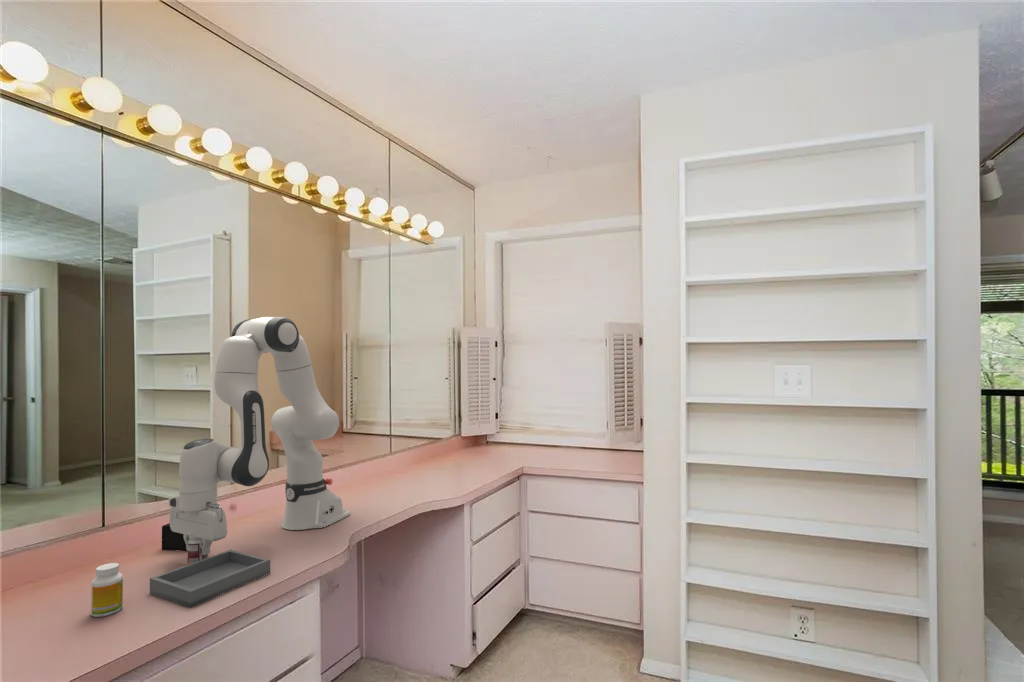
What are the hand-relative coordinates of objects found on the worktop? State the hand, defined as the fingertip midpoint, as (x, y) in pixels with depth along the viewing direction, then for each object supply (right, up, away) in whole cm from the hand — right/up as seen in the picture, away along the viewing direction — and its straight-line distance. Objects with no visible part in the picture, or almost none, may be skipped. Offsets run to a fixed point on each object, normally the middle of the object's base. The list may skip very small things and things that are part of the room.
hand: (198, 552), depth 138 cm
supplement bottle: (-4, -2, -26) cm, 27 cm away
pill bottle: (0, -3, 0) cm, 3 cm away
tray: (+11, -2, -13) cm, 17 cm away
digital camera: (-11, -4, +12) cm, 17 cm away
